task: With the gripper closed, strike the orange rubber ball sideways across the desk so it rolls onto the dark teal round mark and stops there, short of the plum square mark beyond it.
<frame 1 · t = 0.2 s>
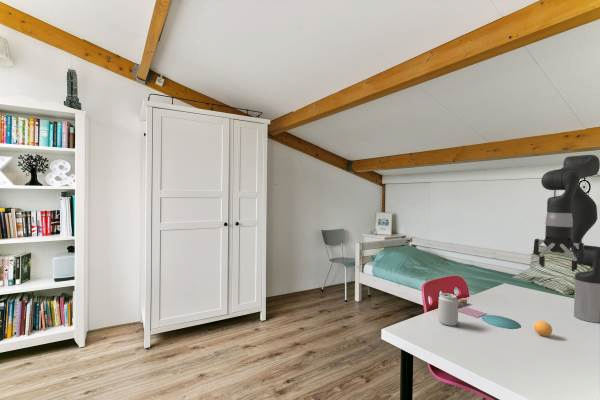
hand: (557, 268, 111), 28 cm above the table, tool pointing down, fingers open, 8 cm apart
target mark: (500, 321, 130), on the table
ball: (543, 328, 118), on the table
stopper: (454, 306, 147), on the table
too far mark: (472, 312, 140), on the table
can: (447, 323, 127), on the table
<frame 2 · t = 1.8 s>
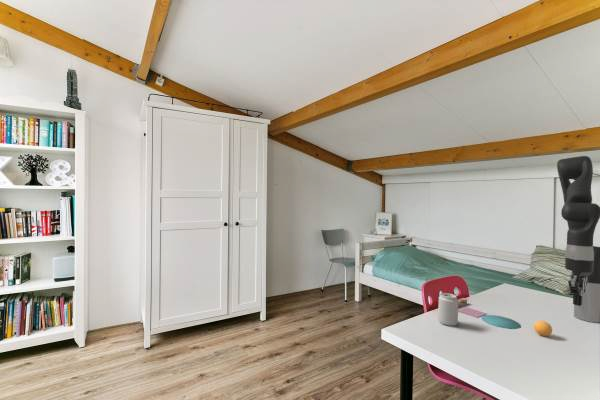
hand: (577, 305, 109), 15 cm above the table, tool pointing down, fingers closed
nothing on the table moved.
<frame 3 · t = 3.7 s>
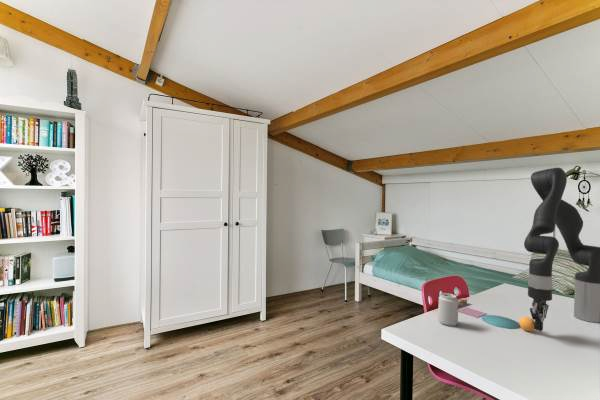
hand: (538, 330, 118), 2 cm above the table, tool pointing down, fingers closed
ball: (527, 323, 122), on the table, touching gripper
everything else where it was.
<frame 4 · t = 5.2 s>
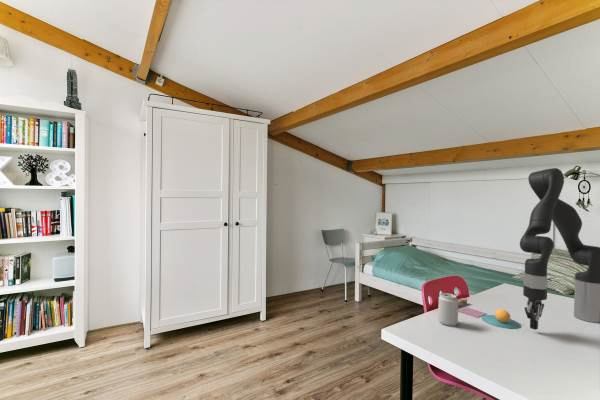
hand: (533, 328, 120), 2 cm above the table, tool pointing down, fingers closed
ball: (502, 316, 130), on the table
everything else where it was.
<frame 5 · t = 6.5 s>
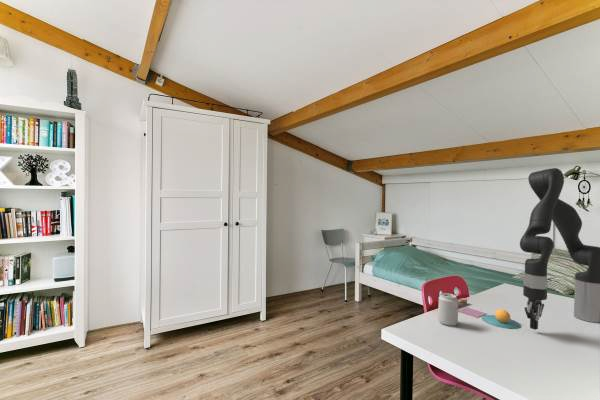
hand: (533, 328, 120), 2 cm above the table, tool pointing down, fingers closed
nothing on the table moved.
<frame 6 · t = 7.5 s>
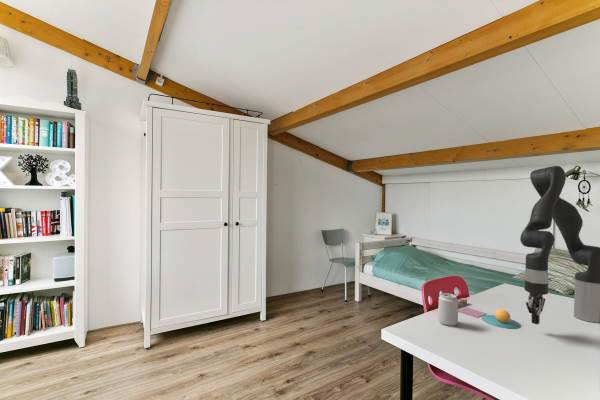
hand: (535, 323, 120), 4 cm above the table, tool pointing down, fingers closed
nothing on the table moved.
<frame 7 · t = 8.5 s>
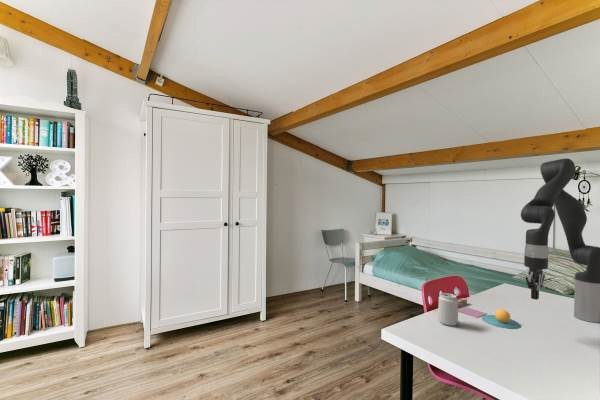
hand: (534, 298, 120), 13 cm above the table, tool pointing down, fingers closed
nothing on the table moved.
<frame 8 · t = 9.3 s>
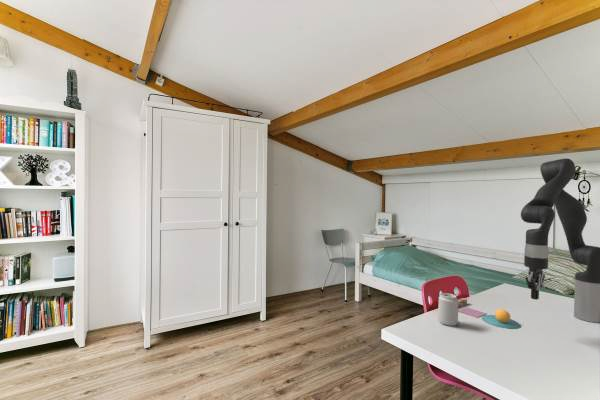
hand: (534, 298, 120), 13 cm above the table, tool pointing down, fingers closed
nothing on the table moved.
at the end: ball 0.8 cm from the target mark (horizontally); ball at rest at the end (0.0 cm/s); ball moved 14.2 cm from its start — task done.
